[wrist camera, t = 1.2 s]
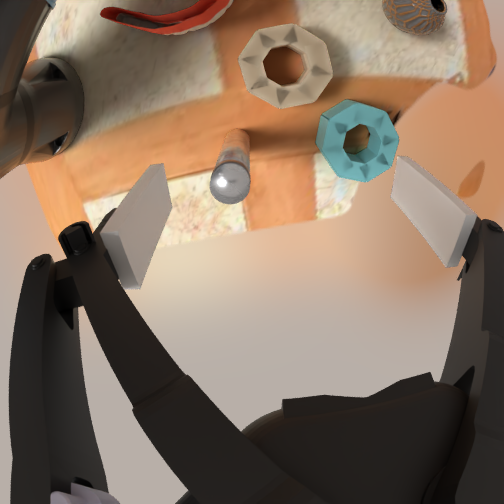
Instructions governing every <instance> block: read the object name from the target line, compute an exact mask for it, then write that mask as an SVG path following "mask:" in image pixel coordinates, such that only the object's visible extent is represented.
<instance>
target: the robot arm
mask: <svg viewBox="0 0 504 504" xmlns="http://www.w3.org/2000/svg"><path fill="white" fill-rule="evenodd" d="M55 2H56V0H0V179H1V178H2V177H3V176H4V175H6V174H7V173H9V172H10V171H11V170H13V169H14V168H15V167H17V166H18V165H22V164H28V163H35V162H42V161H46V160H48V159H51V158H53V157H54V156H56V155H57V154H59V153H60V152H62V151H63V150H65V149H66V148H67V147H68V146H69V145H70V143H71V142H72V141H73V139H74V138H75V136H76V134H77V132H78V130H79V127H80V124H81V121H82V117H83V110H84V95H83V89H82V85H81V82H80V79H79V77H78V75H77V73H76V72H75V70H74V69H73V68H72V66H71V65H69V64H68V63H67V62H65V61H64V60H61V59H59V58H42V59H37V60H34V61H31V62H29V63H27V61H28V58H29V56H30V53H31V51H32V48H33V46H34V44H35V41H36V39H37V37H38V35H39V33H40V31H41V28H42V27H43V25H44V23H45V21H46V19H47V17H48V15H49V13H50V11H51V10H53V9H54V7H55V5H56V3H55ZM26 63H27V64H26ZM391 198H392V200H393V201H394V202H395V203H396V204H397V205H398V207H399V208H400V209H401V210H402V211H403V212H404V214H405V215H406V216H407V217H408V218H409V220H410V221H411V222H412V223H413V224H414V226H415V227H416V228H417V229H418V231H419V232H420V233H421V234H422V236H423V237H424V238H425V240H426V241H427V242H428V244H429V245H430V246H431V248H432V249H433V250H434V252H435V253H436V254H437V256H438V257H439V258H440V260H441V261H442V263H443V264H444V265H445V267H455V266H458V264H459V261H460V259H461V256H463V257H464V258H465V259H466V262H465V264H464V266H463V269H462V271H461V273H460V275H459V277H458V279H457V280H458V281H459V280H460V278H462V281H461V289H460V296H459V302H458V309H457V314H456V320H455V325H454V330H453V334H452V339H451V343H450V347H449V351H448V355H447V359H446V362H445V366H444V369H443V373H442V376H441V379H440V381H439V382H434V380H433V378H432V375H431V373H430V372H428V373H425V374H422V375H418V376H414V377H411V378H407V379H403V380H400V381H398V382H396V383H394V384H392V385H390V386H389V387H387V388H385V389H383V390H381V391H379V392H377V393H376V394H373V395H371V396H369V397H364V398H360V397H344V396H330V395H319V396H311V397H302V398H293V399H283V400H282V408H281V409H280V410H277V411H274V412H271V413H269V414H266V415H264V416H262V417H260V418H259V419H257V420H255V421H254V422H252V423H251V424H250V425H248V426H247V427H246V428H245V429H243V430H242V431H239V429H238V428H237V427H235V425H234V424H233V423H232V422H231V421H230V420H229V419H228V418H227V417H226V416H225V415H224V414H223V413H222V412H221V411H220V410H219V408H217V406H216V405H215V404H214V403H213V402H212V401H211V400H210V399H209V397H208V396H207V395H206V394H205V393H204V392H203V391H202V390H201V389H200V387H199V386H198V385H197V384H196V383H195V382H194V381H193V379H192V378H191V377H190V376H189V375H186V374H184V373H183V371H182V370H181V369H180V368H179V367H178V365H177V364H176V363H175V362H174V360H173V359H172V358H171V356H170V355H169V354H168V352H167V351H166V350H165V348H164V347H163V346H162V344H161V343H160V342H159V340H158V339H157V338H156V336H155V335H154V333H153V332H152V331H151V329H150V328H149V326H148V325H147V324H146V322H145V321H144V319H143V318H142V316H141V315H140V313H139V312H138V311H137V309H136V307H135V306H134V304H133V303H132V301H131V300H130V298H129V297H128V295H127V294H126V292H125V291H124V289H140V288H141V285H142V282H143V280H144V277H145V274H146V272H147V269H148V266H149V264H150V261H151V258H152V256H153V253H154V251H155V248H156V246H157V243H158V241H159V238H160V236H161V233H162V231H163V228H164V226H165V223H166V221H167V219H168V216H169V214H170V212H171V209H172V203H171V198H170V194H169V189H168V184H167V179H166V174H165V169H164V164H163V163H161V164H154V165H150V166H149V167H148V169H147V170H146V171H145V172H144V174H143V175H142V176H141V177H140V179H139V180H138V181H137V182H136V184H135V185H134V186H133V187H132V189H131V190H130V191H129V193H128V194H127V195H126V197H125V198H124V199H123V201H122V202H121V203H120V205H119V206H118V208H114V209H113V210H111V211H110V212H109V213H108V214H106V216H105V217H104V218H103V220H102V222H101V223H100V224H99V225H98V227H97V228H96V230H95V231H94V232H93V234H92V231H91V228H90V226H89V223H87V222H86V221H81V222H76V223H74V224H71V225H70V226H68V227H66V228H65V229H64V230H63V231H62V232H61V233H60V235H59V237H58V240H59V242H60V244H61V246H62V248H63V251H64V253H65V255H66V257H67V259H64V260H61V261H58V262H55V263H54V261H53V259H52V257H51V255H49V254H43V255H40V256H38V257H35V258H34V259H33V260H32V261H31V263H30V264H29V265H28V267H27V269H26V272H25V276H24V280H23V284H22V288H21V293H20V298H19V302H18V308H17V313H16V319H15V325H14V332H13V341H12V348H11V359H10V375H9V423H10V438H11V448H12V455H13V461H12V473H11V497H10V498H11V500H10V504H120V503H119V502H118V501H117V500H116V499H115V498H114V497H113V496H111V495H110V494H109V492H108V487H107V482H106V475H105V471H104V468H103V464H102V460H101V456H100V453H99V449H98V446H97V442H96V438H95V434H94V430H93V425H92V421H91V416H90V411H89V406H88V400H87V395H86V388H85V382H84V375H83V368H82V360H81V359H82V358H81V349H80V337H79V319H78V307H80V306H84V308H85V311H86V313H87V316H88V318H89V320H90V322H91V325H92V327H93V330H94V332H95V334H96V336H97V339H98V341H99V343H100V345H101V347H102V349H103V351H104V353H105V356H106V358H107V360H108V362H109V363H110V366H111V367H112V369H113V371H114V373H115V375H116V377H117V379H118V381H119V382H120V384H121V386H122V388H123V389H124V391H125V393H126V395H127V396H128V398H129V400H130V402H131V403H132V405H133V409H132V411H133V414H134V416H135V418H136V419H137V421H138V423H139V424H140V426H141V427H142V429H143V431H144V432H145V433H146V435H147V436H148V438H149V439H150V441H151V442H152V444H153V445H154V447H155V448H156V450H157V451H158V452H159V454H160V455H161V456H162V458H163V459H164V460H165V462H166V463H167V464H168V466H169V467H170V468H171V470H172V471H173V472H174V473H175V475H176V476H177V477H178V478H179V480H180V481H181V482H182V483H183V484H184V486H185V487H186V488H187V489H188V491H187V492H186V493H185V494H184V495H183V497H181V498H180V499H179V500H178V501H177V502H176V503H175V504H504V231H503V229H502V228H501V227H500V226H499V225H498V224H497V223H496V222H494V221H491V220H488V219H483V220H481V219H480V218H479V217H478V216H477V214H476V213H475V212H474V211H473V210H472V209H470V207H468V206H467V205H466V204H465V203H464V202H463V201H462V200H461V199H460V198H459V197H458V196H456V195H455V194H454V193H453V192H452V191H451V190H450V189H448V188H447V187H446V186H445V185H444V184H443V183H441V182H440V181H439V180H438V179H436V178H435V177H434V176H433V175H431V174H430V173H429V172H428V171H426V170H425V169H424V168H422V167H421V166H420V165H419V164H417V163H416V162H415V161H413V160H412V159H411V158H409V157H406V156H397V162H396V169H395V175H394V181H393V187H392V193H391ZM118 279H119V280H120V282H121V284H120V283H119V281H118ZM121 285H122V286H121Z"/></svg>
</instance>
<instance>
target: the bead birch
mask: <svg viewBox="0 0 504 504" xmlns="http://www.w3.org/2000/svg"><path fill="white" fill-rule="evenodd" d="M281 47H288V48H290V49H291V50H293V51H295V52H296V53H298V54H300V55H301V58H302V62H303V66H304V71H303V73H302V74H301V76H300V77H299V79H298V80H297V81H296V82H295V83H290V84H285V85H279V84H277V83H275V82H273V81H272V80H270V79H268V78H267V76H266V72H265V69H264V66H263V62H262V61H263V60H264V58H265V57H266V55H267V54H268V52H269V51H270V49H275V48H281ZM238 62H239V65H240V68H241V72H242V75H243V78H244V81H245V85H246V88H247V91H248V90H249V93H251V94H253V95H255V96H257V97H259V98H260V99H262V100H264V101H266V102H268V103H270V104H271V105H273V106H275V107H277V108H278V109H279V108H280V109H283V108H288V107H293V106H298V105H303V104H308V103H314V101H316V100H317V98H318V97H319V95H320V94H321V93H322V91H323V90H324V88H325V87H326V85H327V84H328V83H329V81H330V80H331V78H332V77H333V76H332V74H333V70H332V66H331V62H330V58H329V54H328V50H327V46H326V43H324V41H323V40H321V39H319V38H318V37H316V36H315V35H313V34H311V33H310V32H308V31H306V30H305V29H303V28H301V27H300V26H298V25H296V24H294V25H293V23H291V24H284V25H279V26H273V27H268V28H263V29H258V30H257V31H255V33H254V34H253V36H252V37H251V39H250V40H249V42H248V43H247V45H246V46H245V48H244V49H243V51H242V52H241V54H240V56H239V57H238Z"/></svg>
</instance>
